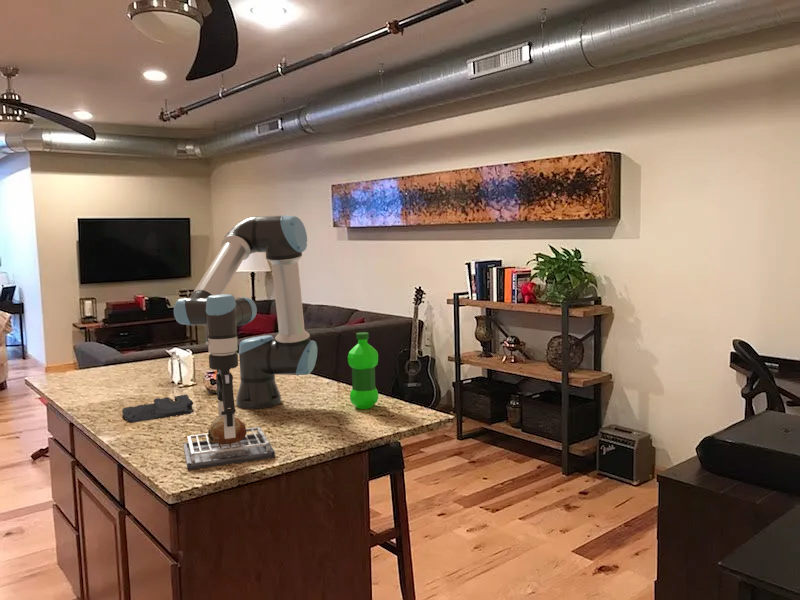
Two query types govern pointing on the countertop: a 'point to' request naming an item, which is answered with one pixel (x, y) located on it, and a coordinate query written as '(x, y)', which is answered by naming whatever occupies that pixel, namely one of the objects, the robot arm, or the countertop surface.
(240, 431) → the bread roll
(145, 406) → the dark slate chunk
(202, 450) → the cooling rack
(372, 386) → the plastic bottle
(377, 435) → the countertop surface
